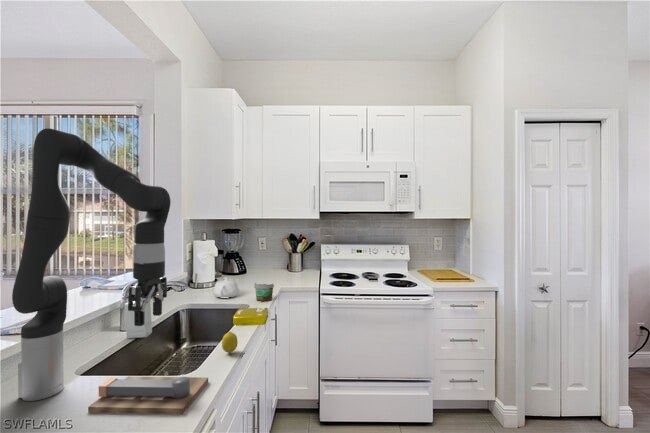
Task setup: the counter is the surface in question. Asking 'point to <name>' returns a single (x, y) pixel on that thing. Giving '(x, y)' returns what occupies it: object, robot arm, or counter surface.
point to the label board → (149, 400)
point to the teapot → (226, 288)
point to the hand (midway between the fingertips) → (148, 320)
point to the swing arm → (145, 387)
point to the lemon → (229, 342)
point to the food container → (264, 292)
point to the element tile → (250, 316)
